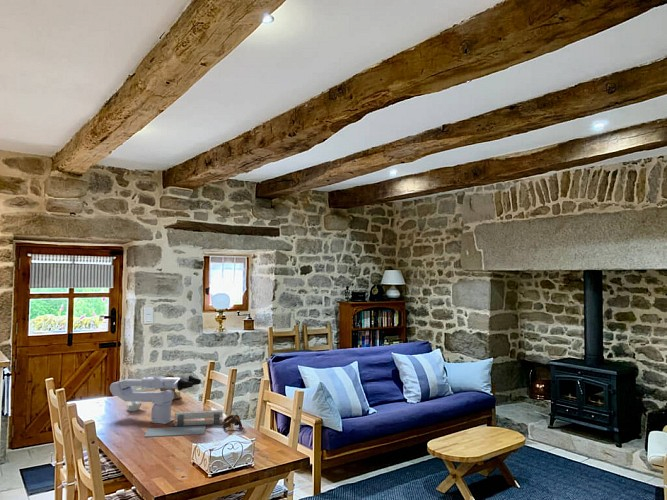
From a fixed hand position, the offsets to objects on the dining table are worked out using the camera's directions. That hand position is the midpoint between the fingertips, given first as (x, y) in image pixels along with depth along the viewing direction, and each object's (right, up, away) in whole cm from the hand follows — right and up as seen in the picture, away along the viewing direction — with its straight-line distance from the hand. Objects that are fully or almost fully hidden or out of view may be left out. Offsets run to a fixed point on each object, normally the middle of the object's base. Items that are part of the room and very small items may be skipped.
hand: (196, 383), depth 258 cm
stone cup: (-30, -23, +48) cm, 61 cm away
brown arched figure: (+20, -22, -5) cm, 30 cm away
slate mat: (-7, -21, -11) cm, 25 cm away
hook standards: (+1, -22, +1) cm, 22 cm away
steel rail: (+1, -18, +1) cm, 18 cm away
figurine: (-43, -22, +25) cm, 54 cm away
